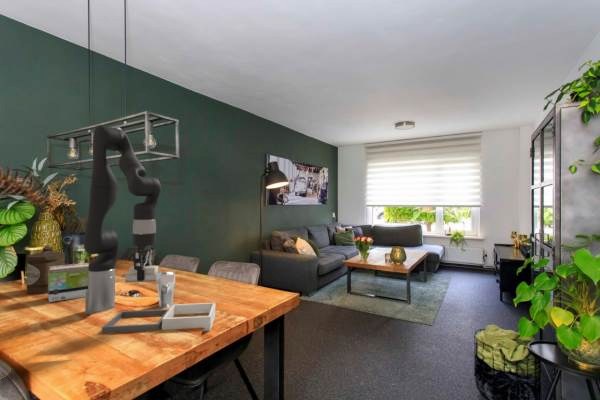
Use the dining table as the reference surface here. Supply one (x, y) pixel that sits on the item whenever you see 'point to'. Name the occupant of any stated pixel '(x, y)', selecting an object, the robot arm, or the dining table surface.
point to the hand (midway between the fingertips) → (143, 278)
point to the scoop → (146, 277)
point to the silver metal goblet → (166, 288)
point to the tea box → (67, 281)
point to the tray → (131, 328)
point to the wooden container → (41, 269)
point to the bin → (189, 322)
